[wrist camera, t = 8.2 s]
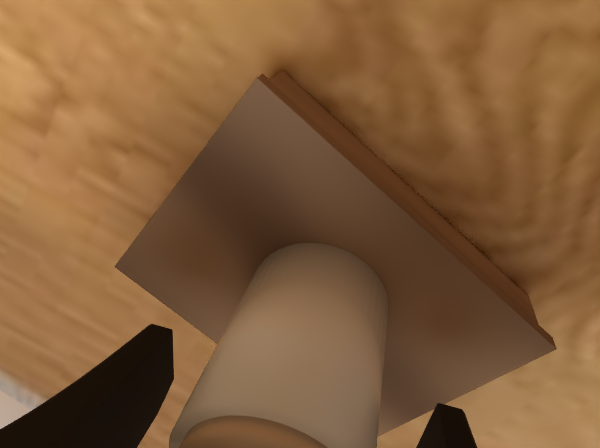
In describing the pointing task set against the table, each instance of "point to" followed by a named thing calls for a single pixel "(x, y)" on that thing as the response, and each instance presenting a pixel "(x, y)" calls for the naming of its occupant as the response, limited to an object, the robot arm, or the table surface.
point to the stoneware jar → (295, 358)
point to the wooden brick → (340, 233)
